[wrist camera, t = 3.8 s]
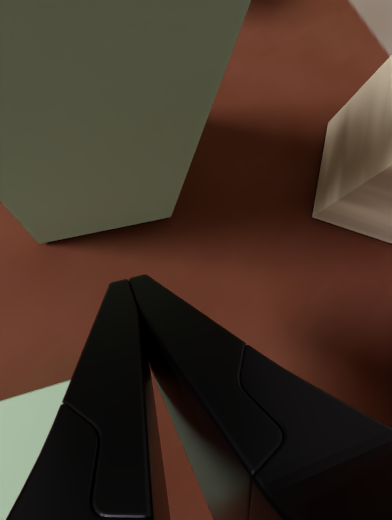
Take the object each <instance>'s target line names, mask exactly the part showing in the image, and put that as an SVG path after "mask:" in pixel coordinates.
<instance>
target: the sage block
mask: <svg viewBox="0 0 392 520" xmlns="http://www.w3.org/2000/svg"><path fill="white" fill-rule="evenodd" d="M250 2H251V0H0V202H1V203H2V204H3V205H4V206H5V207H6V208H7V209H8V210H9V211H10V213H11V214H12V215H13V216H14V217H15V218H16V219H17V220H18V221H19V222H20V224H21V225H22V226H23V227H24V228H25V229H26V230H27V231H28V232H29V234H30V235H31V236H32V237H33V238H34V239H35V240H36V241H37V242H38V243H39V244H41V243H46V242H51V241H56V240H61V239H65V238H70V237H75V236H80V235H85V234H90V233H95V232H100V231H105V230H110V229H115V228H120V227H125V226H130V225H135V224H140V223H144V222H149V221H154V220H159V219H164V218H169V217H171V216H172V213H173V210H174V207H175V205H176V202H177V199H178V197H179V194H180V191H181V189H182V186H183V183H184V180H185V178H186V175H187V172H188V170H189V167H190V164H191V162H192V159H193V156H194V154H195V151H196V148H197V145H198V143H199V140H200V137H201V135H202V132H203V129H204V127H205V124H206V121H207V118H208V116H209V113H210V110H211V108H212V105H213V102H214V100H215V97H216V94H217V91H218V89H219V86H220V83H221V81H222V78H223V75H224V73H225V70H226V67H227V65H228V62H229V59H230V56H231V54H232V51H233V48H234V46H235V43H236V40H237V38H238V35H239V32H240V29H241V27H242V24H243V21H244V19H245V16H246V13H247V11H248V8H249V5H250Z"/></svg>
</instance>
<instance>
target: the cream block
mask: <svg viewBox="0 0 392 520" xmlns="http://www.w3.org/2000/svg"><path fill="white" fill-rule="evenodd" d="M312 217H313V218H316V219H319V220H322V221H325V222H328V223H331V224H334V225H337V226H340V227H343V228H346V229H349V230H352V231H355V232H358V233H361V234H364V235H367V236H370V237H373V238H376V239H379V240H382V241H385V242H388V243H391V244H392V55H391V56H390V57H389V58H388V59H387V61H386V62H385V63H384V64H383V65H382V66H381V67H380V68H379V69H378V70H377V71H376V72H375V73H374V74H373V75H372V77H371V78H370V79H369V80H368V81H367V82H366V83H365V84H364V85H363V86H362V87H361V88H360V89H359V90H358V92H357V93H356V94H355V95H354V96H353V97H352V98H351V99H350V100H349V101H348V102H347V103H346V104H345V105H344V106H343V108H342V109H341V110H340V111H339V112H338V113H337V114H336V115H335V116H334V117H333V118H332V119H331V120H330V121H329V123H328V127H327V133H326V138H325V144H324V150H323V156H322V162H321V168H320V174H319V180H318V185H317V191H316V197H315V203H314V209H313V215H312Z"/></svg>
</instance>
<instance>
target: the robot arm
mask: <svg viewBox="0 0 392 520" xmlns="http://www.w3.org/2000/svg"><path fill="white" fill-rule="evenodd" d="M149 365H150V366H149ZM150 368H151V371H152V373H153V376H154V379H155V381H156V383H157V386H158V388H159V391H160V393H161V395H162V398H163V400H164V402H165V405H166V407H167V410H168V412H169V414H170V417H171V419H172V421H173V424H174V426H175V429H176V431H177V433H178V436H179V438H180V440H181V443H182V445H183V448H184V450H185V452H186V455H187V457H188V459H189V462H190V464H191V467H192V469H193V471H194V474H195V476H196V478H197V481H198V483H199V486H200V488H201V490H202V493H203V495H204V497H205V500H206V502H207V505H208V507H209V509H210V512H211V514H212V516H213V519H214V520H392V428H391V427H389V426H387V425H385V424H384V423H382V422H380V421H378V420H376V419H374V418H372V417H370V416H369V415H367V414H365V413H363V412H361V411H359V410H358V409H356V408H354V407H352V406H350V405H348V404H347V403H345V402H343V401H341V400H339V399H337V398H336V397H334V396H332V395H330V394H328V393H326V392H325V391H323V390H321V389H319V388H317V387H315V386H314V385H312V384H310V383H308V382H307V381H305V380H303V379H301V378H300V377H298V376H296V375H294V374H293V373H291V372H289V371H287V370H286V369H284V368H283V367H281V366H279V365H278V364H276V363H275V362H273V361H272V360H270V359H269V358H267V357H266V356H264V355H262V354H261V353H260V352H258V351H257V350H255V349H254V348H252V347H251V346H249V345H247V346H246V343H245V342H243V341H242V340H240V339H239V338H238V337H236V336H235V335H233V334H232V333H230V332H229V331H227V330H226V329H225V328H223V327H222V326H220V325H219V324H217V323H216V322H214V321H213V320H212V319H210V318H209V317H207V316H206V315H204V314H203V313H201V312H200V311H198V310H197V309H196V308H194V307H193V306H191V305H190V304H188V303H187V302H185V301H184V300H183V299H181V298H180V297H178V296H177V295H175V294H174V293H172V292H171V291H170V290H168V289H167V288H165V287H164V286H162V285H161V284H159V283H158V282H156V281H155V280H154V279H152V278H151V277H149V276H148V275H140V276H136V277H132V278H130V279H129V281H128V280H127V279H124V280H120V281H116V282H112V283H110V284H109V286H108V289H107V291H106V294H105V296H104V299H103V301H102V304H101V306H100V309H99V311H98V314H97V316H96V319H95V321H94V324H93V326H92V329H91V331H90V333H89V336H88V338H87V341H86V343H85V346H84V348H83V351H82V353H81V356H80V358H79V361H78V363H77V366H76V368H75V371H74V373H73V376H72V378H71V380H70V383H69V385H68V388H67V390H66V393H65V395H64V398H63V400H62V403H63V404H61V405H60V407H59V410H58V412H57V415H56V417H55V420H54V422H53V425H52V427H51V429H50V431H49V434H48V436H47V438H46V441H45V443H44V445H43V447H42V450H41V452H40V454H39V456H38V458H37V460H36V462H35V464H34V466H33V468H32V470H31V472H30V474H29V476H28V478H27V480H26V482H25V484H24V486H23V488H22V490H21V492H20V494H19V495H18V497H17V499H16V501H15V503H14V505H13V507H12V509H11V510H10V512H9V514H8V516H7V518H6V520H170V513H169V505H168V498H167V490H166V483H165V475H164V467H163V460H162V452H161V445H160V437H159V430H158V422H157V414H156V407H155V399H154V392H153V384H152V377H151V371H150Z"/></svg>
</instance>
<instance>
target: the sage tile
mask: <svg viewBox="0 0 392 520" xmlns="http://www.w3.org/2000/svg"><path fill="white" fill-rule="evenodd" d="M70 380H71V379H70ZM70 380H67V381H64V382H60V383H57V384H54V385H50V386H47V387H44V388H41V389H37V390H34V391H31V392H27V393H24V394H21V395H17V396H14V397H11V398H7V399H4V400H1V401H0V520H6V518H7V516H8V514H9V512H10V510H11V509H12V507H13V505H14V503H15V501H16V499H17V497H18V495H19V494H20V492H21V490H22V488H23V486H24V484H25V482H26V480H27V478H28V476H29V474H30V472H31V470H32V468H33V466H34V464H35V462H36V460H37V458H38V456H39V454H40V452H41V450H42V447H43V445H44V443H45V441H46V438H47V436H48V434H49V431H50V429H51V427H52V425H53V422H54V420H55V417H56V415H57V412H58V410H59V407H60V405H61V404H63V403H62V400H63V398H64V395H65V393H66V390H67V388H68V385H69V383H70Z"/></svg>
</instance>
